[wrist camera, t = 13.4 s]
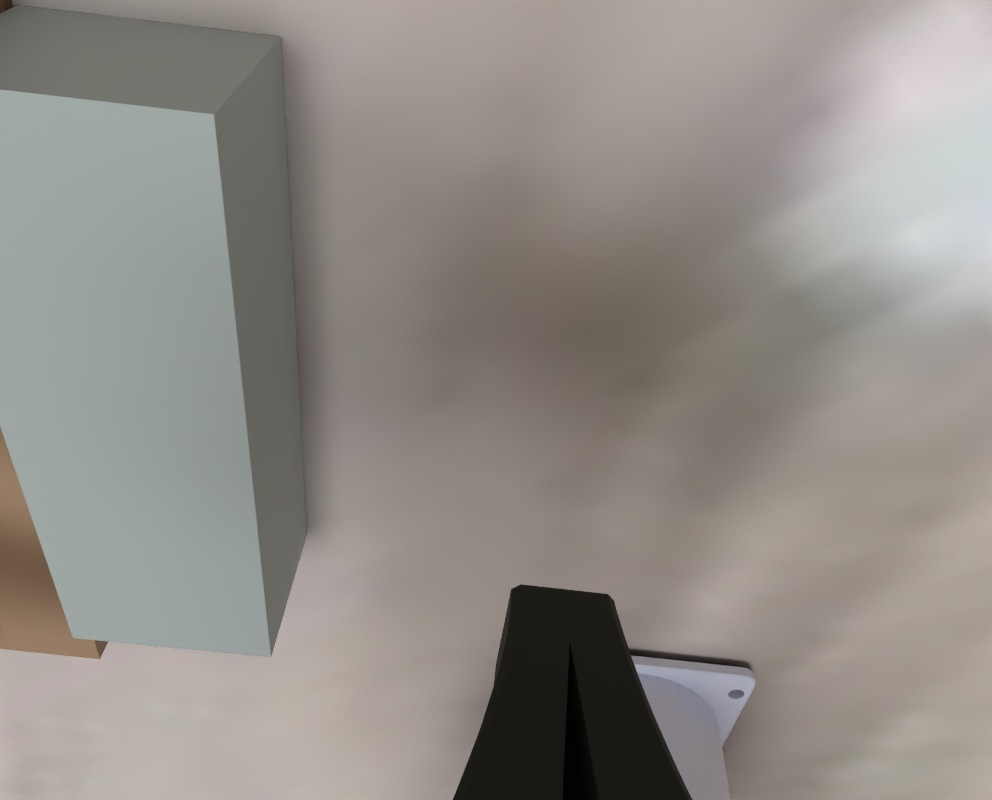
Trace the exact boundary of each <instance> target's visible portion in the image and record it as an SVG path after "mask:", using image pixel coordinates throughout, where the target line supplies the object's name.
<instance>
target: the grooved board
mask: <svg viewBox="0 0 992 800" xmlns="http://www.w3.org/2000/svg"><path fill="white" fill-rule="evenodd" d="M10 8H12V4H11V0H0V13H2V12H4V11H6V10H8V9H10ZM107 643H108V641H98V640H88V639H77V638H73V637H72V634H71V631H70V628H69V625H68V622H67V619H66V616H65V614H64V611H63V608H62V605H61V602H60V599H59V596H58V593H57V590H56V587H55V584H54V582H53V579H52V576H51V573H50V570H49V567H48V564H47V561H46V558H45V555H44V552H43V550H42V547H41V544H40V541H39V538H38V535H37V532H36V529H35V526H34V523H33V520H32V518H31V515H30V512H29V509H28V506H27V503H26V500H25V497H24V494H23V491H22V488H21V486H20V483H19V480H18V477H17V474H16V471H15V468H14V465H13V462H12V459H11V456H10V454H9V451H8V448H7V445H6V442H5V439H4V436H3V433H2V430H1V427H0V649H8V650H18V651H28V652H37V653H47V654H56V655H66V656H75V657H85V658H94V659H100V658H101V655H102V653H103V651H104V649H105V647H106V645H107Z"/></svg>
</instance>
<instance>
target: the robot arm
mask: <svg viewBox="0 0 992 800" xmlns="http://www.w3.org/2000/svg"><path fill="white" fill-rule="evenodd" d="M755 685H756V681H755V676H754V673H753V672H752V671H751V670H749V669H748V668H744V667H736V666H726V665H717V664H708V663H698V662H689V661H680V660H670V659H661V658H652V657H642V656H633V655H631V654H630V651H629V648H628V646H627V643H626V640H625V637H624V634H623V630H622V627H621V624H620V621H619V617H618V614H617V611H616V607H615V603H614V600H613V599H612V598H611V597H610V596H609V595H608V594H601V593H592V592H583V591H574V590H565V589H556V588H547V587H538V586H529V585H519V586H517V587H515V588H513V589H511V594H510V598H509V603H508V608H507V613H506V618H505V623H504V628H503V633H502V638H501V643H500V648H499V653H498V658H497V663H496V670H495V681H494V688H493V691H492V694H491V697H490V700H489V703H488V707H487V710H486V713H485V716H484V719H483V722H482V725H481V728H480V731H479V734H478V737H477V739H476V742H475V745H474V747H473V750H472V752H471V755H470V757H469V760H468V763H467V765H466V768H465V770H464V773H463V776H462V778H461V781H460V783H459V786H458V788H457V791H456V793H455V796H454V798H453V800H731V795H730V789H729V784H728V778H727V773H726V767H725V761H724V756H723V750H722V746H723V744H724V743H725V741H726V739H727V737H728V735H729V733H730V732H731V730H732V728H733V726H734V724H735V722H736V721H737V719H738V717H739V715H740V713H741V711H742V710H743V708H744V706H745V704H746V702H747V700H748V699H749V697H750V695H751V693H752V691H753V689H754V687H755Z"/></svg>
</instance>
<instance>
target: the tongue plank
mask: <svg viewBox="0 0 992 800" xmlns="http://www.w3.org/2000/svg"><path fill="white" fill-rule="evenodd" d="M0 427H1V430H2V433H3V436H4V439H5V442H6V445H7V448H8V451H9V454H10V456H11V459H12V462H13V465H14V468H15V471H16V474H17V477H18V480H19V483H20V486H21V488H22V491H23V494H24V497H25V500H26V503H27V506H28V509H29V512H30V515H31V518H32V520H33V523H34V526H35V529H36V532H37V535H38V538H39V541H40V544H41V547H42V550H43V552H44V555H45V558H46V561H47V564H48V567H49V570H50V573H51V576H52V579H53V582H54V584H55V587H56V590H57V593H58V596H59V599H60V602H61V605H62V608H63V611H64V614H65V616H66V619H67V622H68V625H69V628H70V631H71V634H72V637H73V638H77V639H88V640H98V641H109V642H119V643H129V644H140V645H150V646H161V647H171V648H181V649H192V650H202V651H213V652H223V653H233V654H244V655H254V656H265V657H271V655H272V652H273V648H274V645H275V641H276V638H277V635H278V631H279V628H280V624H281V621H282V618H283V614H284V611H285V607H286V604H287V600H288V597H289V594H290V590H291V587H292V583H293V580H294V576H295V573H296V570H297V566H298V563H299V559H300V556H301V552H302V549H303V546H304V542H305V539H306V535H307V522H306V503H305V484H304V465H303V446H302V427H301V407H300V388H299V369H298V350H297V331H296V312H295V293H294V274H293V254H292V235H291V216H290V197H289V178H288V159H287V140H286V121H285V101H284V82H283V63H282V44H281V36H272V35H264V34H256V33H247V32H239V31H231V30H222V29H214V28H206V27H198V26H189V25H181V24H173V23H164V22H156V21H148V20H139V19H131V18H123V17H114V16H106V15H98V14H89V13H81V12H73V11H65V10H56V9H48V8H40V7H31V6H23V5H16V6H14V7H12V8H10V9H8V10H6V11H4V12H2V13H0Z"/></svg>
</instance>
